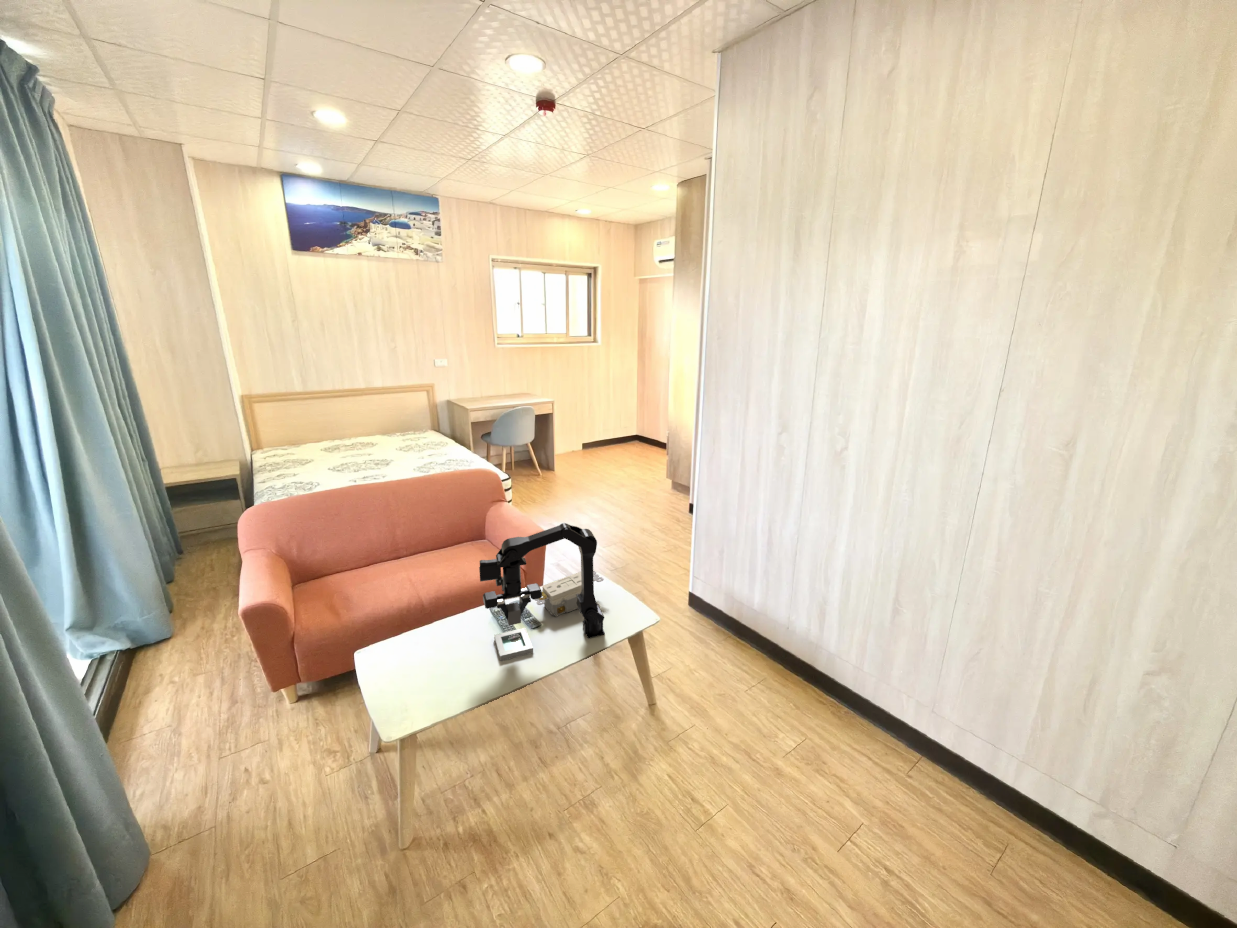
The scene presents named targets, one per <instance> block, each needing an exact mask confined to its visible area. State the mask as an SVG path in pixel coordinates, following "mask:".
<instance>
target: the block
mask: <svg viewBox="0 0 1237 928" xmlns="http://www.w3.org/2000/svg"><path fill="white" fill-rule="evenodd" d="M505 604H506V607H507V614H508V619H506V621H507V623H508V626H513V625H519V624H521V623H522V615H521V610H520V607H519V601H516V602H511V603H505Z"/></svg>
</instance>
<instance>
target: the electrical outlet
mask: <svg viewBox="0 0 1237 928" xmlns="http://www.w3.org/2000/svg"><path fill="white" fill-rule="evenodd" d="M593 579H594V582H595V581H596V582H597V583H600V582H603V581H604V578H603V577H602V576H600V575H599V574H597V571H595V570H593ZM541 587H542V589H541V591H542V597H541V598H539V599H534V601H536V605H538V606H542V605H544V608H546V610H547V611H548V612H549V614H551V616H552V617H553V616H555V618H557V617H558V616H560V615H562V614H565V613H570V612H573V611H574V610H577V609H578V610H579V608H578V606H577V604H576V602H577V595H576V594H580V593H581V591H582V582H581V571H578V572H575V573H573V574H570V575H568V576H565V577H562V578H560V579H557V580H555V581H551V582H547V583H546V584H543V585H542V586H541Z"/></svg>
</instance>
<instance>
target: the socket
mask: <svg viewBox="0 0 1237 928" xmlns="http://www.w3.org/2000/svg"><path fill="white" fill-rule="evenodd" d="M513 634H519V635H520V636H521V638H520V640H518V641H516V642H511V641H510V640H508V638H509V636H511V635H513ZM493 636H494V637H493V639H494V642H495V647H496V650H497V654H498V657H499V661H500V662H503V661H507V660H511V659H513V658H518V657H522V656H525V655H526V656H527V655H529V654H533V653H534V648H533V644H532V642H531V639H530V636H529V634H528V631H527V628H526V627H522V628H517V629H514V630H509V631H504V632H501V633H497V634H494V635H493Z"/></svg>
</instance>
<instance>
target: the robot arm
mask: <svg viewBox="0 0 1237 928" xmlns="http://www.w3.org/2000/svg"><path fill="white" fill-rule="evenodd" d="M562 540H568V541H569V542H571V543H572V544H574V545H576V546H577V547H578V550H579V554H580V572H581V582H582V591H581V593H580V594H576V595H577V602H576V604H577V606H578V611H579V614H581V615H582V617H583V620H582V632H583V633H584V635H585V636H586V637H587V639H591V638H596V637H599V636H603V635H605V634H606V632H605V630H604V620H605V616H604V614H603V612H602V610H601V607H600V606H599V604H598V603H597V600H596V596H595V593H594V592H595V590H594V589H595V588H594V587H595V585H594V582H595V581H594V579H593V578H594V577H593V571H594V556H595V555H596V552H597V547H598V540H597V539H596V537H595V535H594V533H593V532H592V530H590V529H589V528H581V527H579V526H577V525H571V524H569V523H565V522H563V523H560V524H559V525H557V526H554V527H551V528H548V529H545V530H542V531H540V532H536V533H534V534H531V535H528V536H515V537H509V538H507V539H505V540H503V542H502V544H501V547H500V549H499V550H498V552H497V553H496V555H495V558H492V559H481V560H479V567H478V571H479V582H489V581H495V585H496V586H497V587H501V590H502V592H503V593H501V594H496V591H495V590H494V591H487V592H484V593H483V595H482V602H483V604H484V608H485V609H487V610H488V609H492V608H493V609H494V608H497V609H500V611H502V612H503V615H504V617H505V619H506V620H507V619H508V614H507V607H506V604H507V603H506V601H507V600H512V599H516V598H518V599H519V601H518V605H519V607H520V610H521V616H522V615H523V613H524V610H525V609H526V607H527V606H528V604H529V603H531V602H532V600H534V599H539V598H543V596H542V589H541V587H540V585H539V584H538V583H529V584H526V587H525V588H522V575H521V574H522V573H521V572H522V571H521V568H522V567H521V566H526V565H527V560H526V558H525V556H526V555H528V553H531V551H534V550H537V549H539V548H542V547H545V546H548V545H551V544H554V543H556V542H559V541H562ZM501 568H502V569H501ZM534 601H535V600H534Z"/></svg>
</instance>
